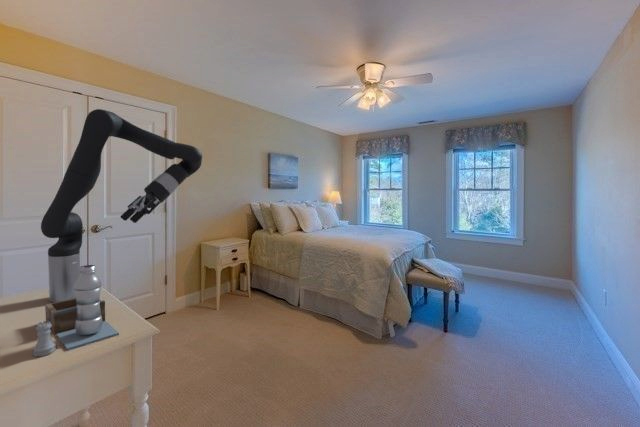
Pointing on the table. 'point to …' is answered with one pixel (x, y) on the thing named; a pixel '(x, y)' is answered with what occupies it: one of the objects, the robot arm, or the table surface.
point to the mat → (85, 337)
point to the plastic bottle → (88, 301)
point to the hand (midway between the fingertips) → (127, 220)
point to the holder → (65, 315)
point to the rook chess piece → (44, 340)
